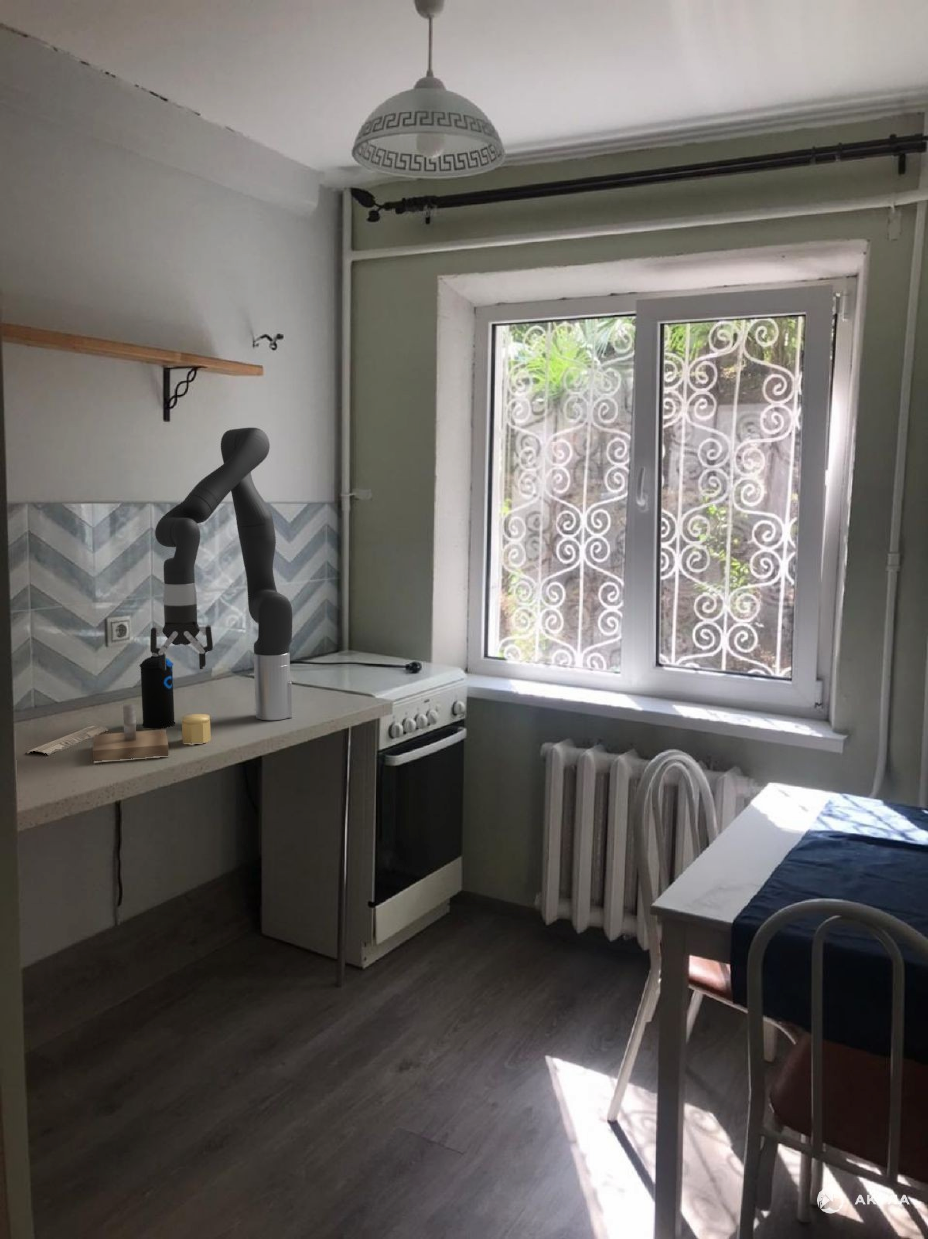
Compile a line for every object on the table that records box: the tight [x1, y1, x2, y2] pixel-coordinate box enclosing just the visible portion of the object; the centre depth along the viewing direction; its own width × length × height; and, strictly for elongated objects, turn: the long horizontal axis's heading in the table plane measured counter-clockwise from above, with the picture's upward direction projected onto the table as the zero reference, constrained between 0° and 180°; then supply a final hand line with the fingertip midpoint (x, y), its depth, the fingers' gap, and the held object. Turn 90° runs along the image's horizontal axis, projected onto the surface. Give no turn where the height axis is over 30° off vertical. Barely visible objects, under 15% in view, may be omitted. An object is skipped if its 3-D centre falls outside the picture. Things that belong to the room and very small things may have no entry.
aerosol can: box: [139, 646, 177, 730], centre depth 253 cm, size 8×8×20 cm
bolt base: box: [92, 704, 169, 761], centre depth 229 cm, size 16×14×11 cm
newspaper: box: [26, 725, 109, 754], centre depth 238 cm, size 24×7×2 cm, turn 166°
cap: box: [181, 713, 212, 744], centre depth 239 cm, size 6×6×6 cm
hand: (182, 669), depth 238 cm, fingers open, 8 cm apart
